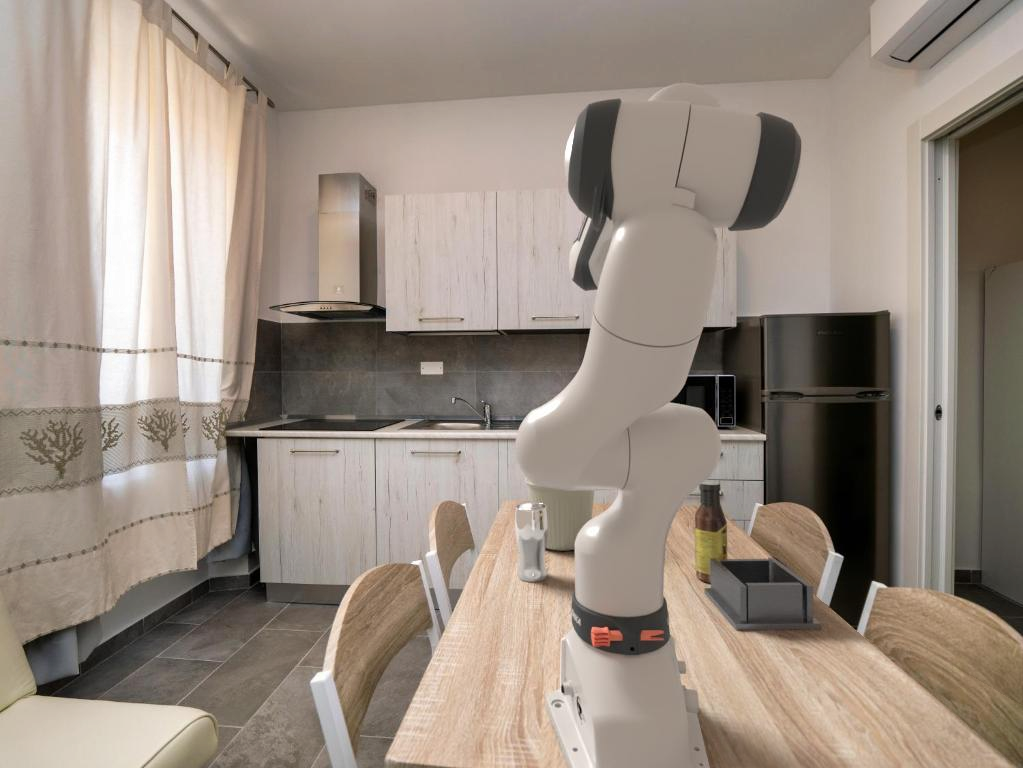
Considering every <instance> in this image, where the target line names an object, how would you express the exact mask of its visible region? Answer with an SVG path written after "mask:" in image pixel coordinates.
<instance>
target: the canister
mask: <svg viewBox="0 0 1023 768" xmlns="http://www.w3.org/2000/svg"><path fill="white" fill-rule="evenodd" d="M524 482H525V483H526V484H527V491H528V493H527V494H528V499H529V501H528V502H537V503H543V504H545V505H546V506H547V516H548V536H547V543H546V549H547V550H552V551H559V552H560V551H563V552H565V551H575V540H576V537H577V535H578V533H579V531H580V530H581V528H582V527H583V526H584V525H585V524H586V523H587V522H588V521H589V520H591V519H592V518H593V511H594V510H593V508H594V499H595V498H594V496H595V490H592V491H565V490H559V489H552V488H547V487H542V486H536V485H533V484H532V483H531V482H530V481H529V480H528V479H527V478H526V477H525V479H524Z"/></svg>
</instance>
